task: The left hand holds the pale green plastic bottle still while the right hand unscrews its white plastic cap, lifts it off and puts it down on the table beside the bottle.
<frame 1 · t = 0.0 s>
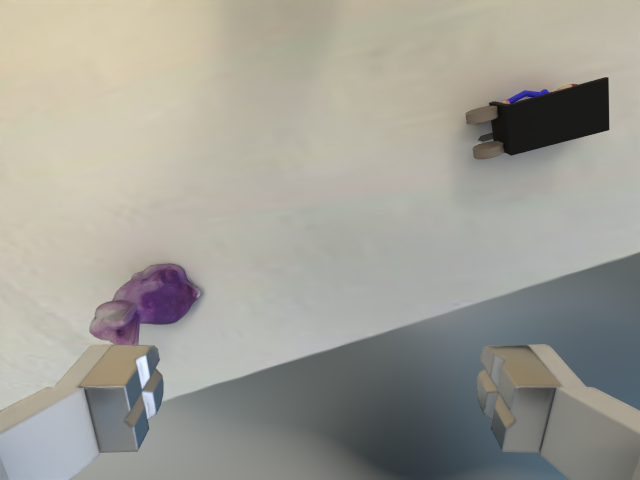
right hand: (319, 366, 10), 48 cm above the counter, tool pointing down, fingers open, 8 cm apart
figurine: (162, 287, 63), on the counter
figurine character: (518, 117, 54), on the counter
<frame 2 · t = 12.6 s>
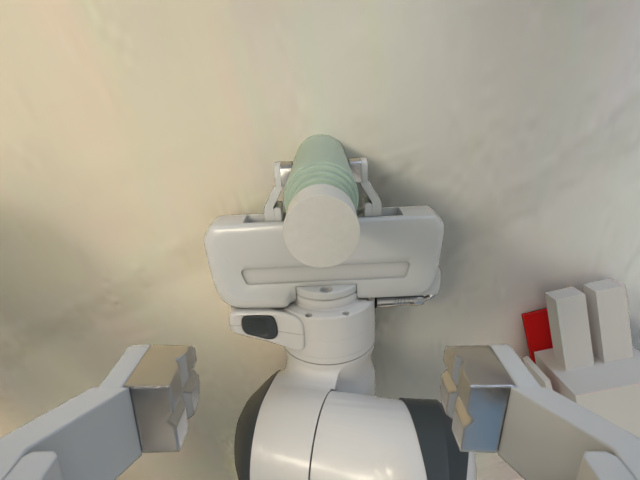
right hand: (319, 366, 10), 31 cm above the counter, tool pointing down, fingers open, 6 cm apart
left hand: (319, 160, 34), fingers closed on bottle, 5 cm apart
toy: (566, 384, 49), on the counter
cap: (321, 230, 20), point 21 cm above the counter, screwed on, not yet turned
bottle: (320, 159, 39), on the counter, touching left hand
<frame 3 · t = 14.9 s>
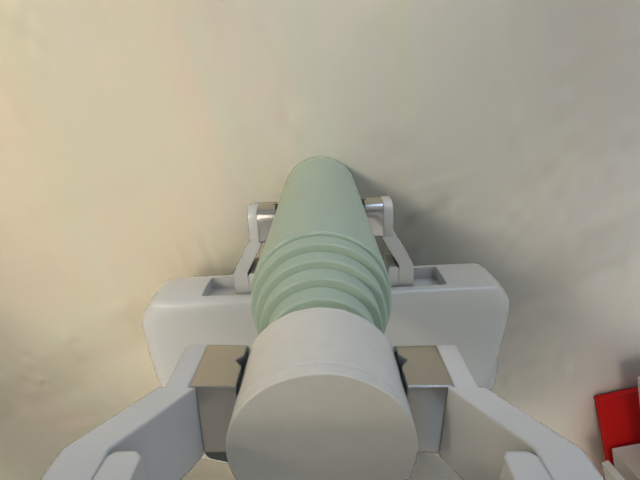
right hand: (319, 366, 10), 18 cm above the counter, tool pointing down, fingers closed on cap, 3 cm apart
left hand: (318, 201, 22), fingers closed on bottle, 5 cm apart
cap: (321, 440, 8), point 21 cm above the counter, screwed on, not yet turned, touching right hand
bottle: (320, 192, 28), on the counter, touching left hand
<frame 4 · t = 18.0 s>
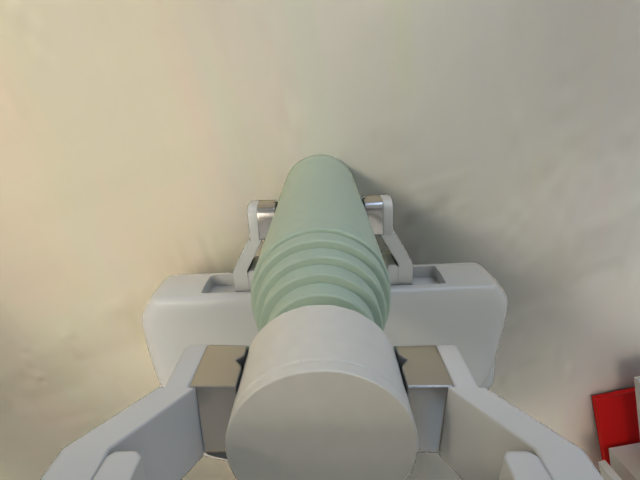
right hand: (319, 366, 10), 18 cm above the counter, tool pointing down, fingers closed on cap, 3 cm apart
left hand: (318, 199, 22), fingers closed on bottle, 5 cm apart
cap: (321, 438, 8), point 21 cm above the counter, turned 85° so far, risen 0.1 cm, still on its thread, touching right hand
bottle: (320, 190, 28), on the counter, touching left hand
when the right hand's fingers open (2 cm above the counter, at t = 35.2 s): cap drops 2 cm, point 2 cm above the counter.
when the left hand's fingers open (6 cm above the counter, at t = 36.4 s): bottle stays where it is, on the counter.
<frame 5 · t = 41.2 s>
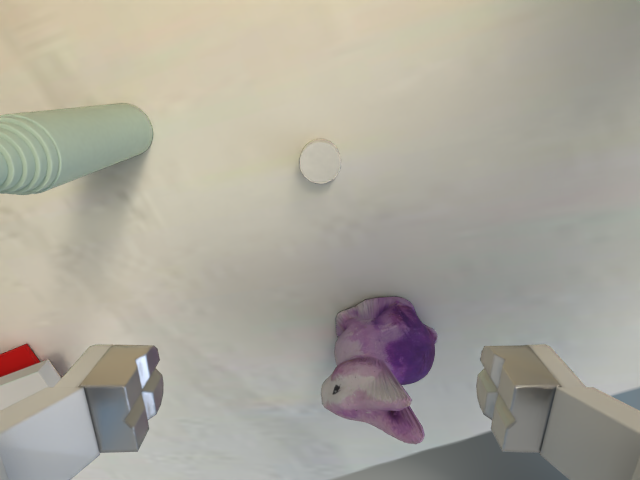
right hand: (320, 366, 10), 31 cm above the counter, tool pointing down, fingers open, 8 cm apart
cap: (320, 162, 37), point 2 cm above the counter, off its thread
figurine: (375, 328, 46), on the counter
bottle: (127, 130, 38), on the counter
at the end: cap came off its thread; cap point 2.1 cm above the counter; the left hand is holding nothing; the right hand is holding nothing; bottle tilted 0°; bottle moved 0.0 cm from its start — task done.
